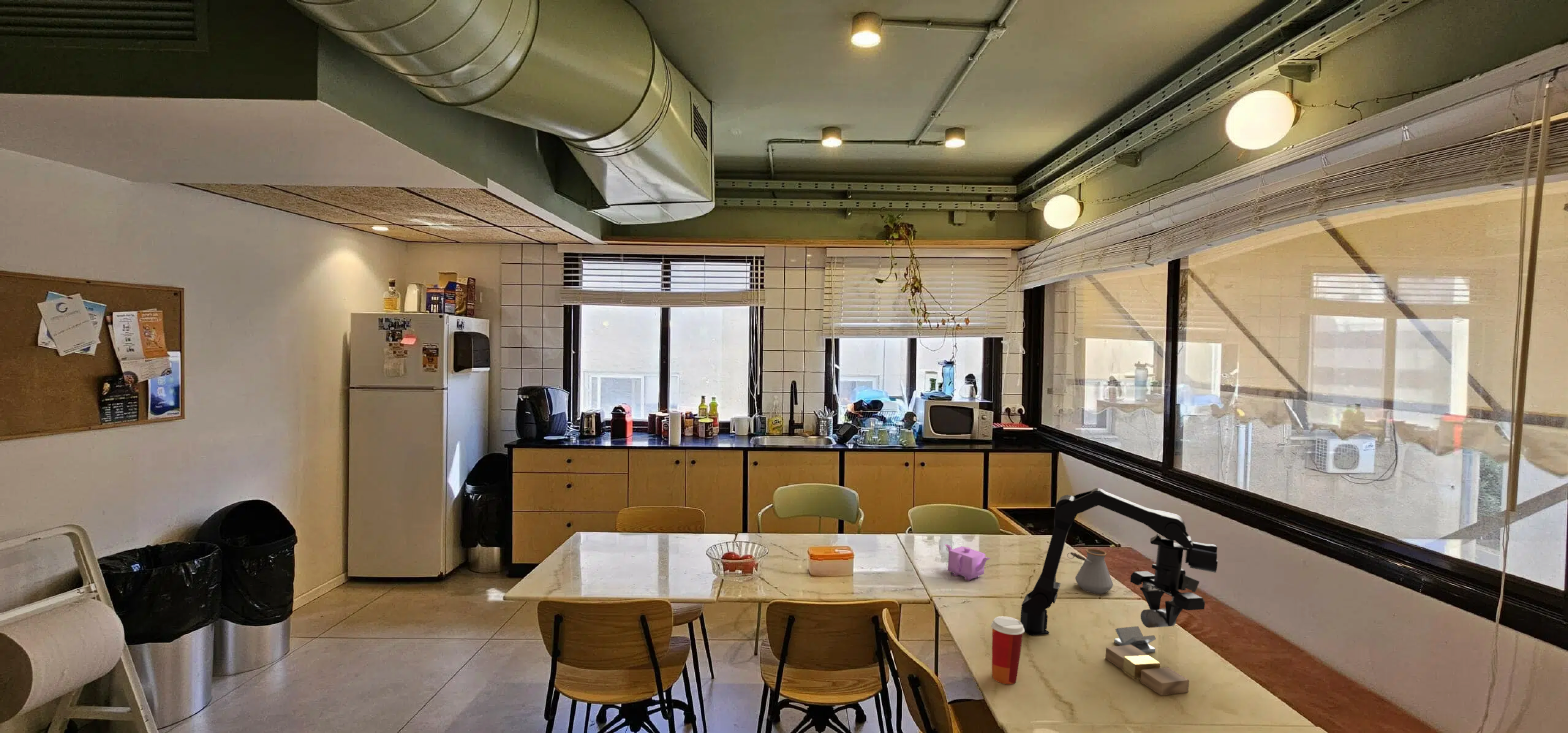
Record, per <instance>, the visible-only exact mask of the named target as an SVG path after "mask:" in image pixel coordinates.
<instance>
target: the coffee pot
mask: <svg viewBox="0 0 1568 733" xmlns="http://www.w3.org/2000/svg"><path fill="white" fill-rule="evenodd" d="M1085 553H1086V558H1085V557H1084V556H1082V555H1080V554H1077V553H1076V552H1068V553H1067V555H1066V556H1067V558H1069V559H1071V560H1072V559H1074V558H1076V559H1078V560H1081V561H1084V562H1083V563H1082V565H1081V567H1080V569H1079V570H1078V571H1077V573H1076V575H1075V578H1074V579H1075V582H1076V584H1077V585H1078V586H1079V587H1080V588H1081V590H1083V591H1084V592H1086V593H1090V594H1096V595H1104V594H1106V593H1107V592H1109V591H1110V590H1111V589H1112V588H1113V586H1114V582H1113V580H1112V577H1111V574H1110V571H1109V568H1108V566H1107V564H1106V560H1105V557H1106V556H1107V552H1105V550H1101V549H1097V548H1086V549H1085ZM1069 554H1070V555H1071V556H1072V557H1069Z"/></svg>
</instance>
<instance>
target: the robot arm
mask: <svg viewBox="0 0 1568 733" xmlns="http://www.w3.org/2000/svg"><path fill="white" fill-rule="evenodd" d="M1094 507H1102V508H1104V509H1107V510H1109V511H1112V512H1115V513H1116V514H1119V515H1122V516H1124V517H1126V518H1129V519H1131V520H1134V521H1137V522H1138V523H1142V524H1144V525H1145V526H1146V527H1148V528H1150V530H1152V531H1154V532H1155V533H1156V535H1155V536H1152V537H1151V538H1150V544H1151V545H1156V546H1157V550H1156V560H1155V561H1156V562H1155V563H1151V568H1152V569H1153V570H1154V573H1152V572H1149V571H1148V570H1146V571H1145V570H1144V571H1142V570H1141V571H1133V572H1132V573H1131V575H1130V580H1129V581H1130V583H1132V584H1134V585H1136V586H1140V587H1139V590H1140V591H1141V593H1142V594H1143V596H1144V598H1145V601H1146V602H1147V604H1148V607H1149V609H1161V608H1160V607H1161V601H1162V597H1163V596H1164V594H1166V595H1168V596H1170V597H1171V600H1165V601H1164V606H1165V608H1166V617H1167V624H1168V626H1169V627H1174V626H1173V624H1174V622H1175V620H1176V621H1177V618H1178V617H1179V615H1180V614H1181V612H1182V611H1183V610H1184V611H1197V610H1200V611H1201V610H1205V607H1206V600H1205V599H1204V598H1203V597H1202V596H1199V595H1197V594H1196V592H1197V589H1198V586H1199V584H1200V581H1199V580H1197V579H1195V578H1193V577H1192V576H1191V577H1190V576H1188V575H1186V573H1187V572H1186V570H1185V569H1183V568H1182V565H1183V564H1182V563H1183V557H1185V558H1184V563H1186V564H1187V566H1188V567H1189V569H1193V570H1200V571H1205V572H1209V573H1217V570H1218V563H1219V562H1218V546H1217V544H1212V543H1203V542H1196V541H1193V540H1192V538H1191V535H1189V534H1188V532H1187V529H1186V528H1187V527H1186V524H1185V523H1186V522H1185V521H1184V518H1183V517H1181V516H1180V515H1179V514H1176V513H1172V512H1168V511H1165V510H1159V509H1158V510H1157V509H1153V508H1148V507H1146V506H1143V505H1141V504H1138V503H1135V502H1133V501H1130V500H1128V499H1125V498H1122V497H1121V496H1118V495H1116V494H1113V493H1110V492H1107V491H1106V490H1104V489H1102V488H1099V487H1097V488H1094V489H1092V490H1089V491H1085V492H1081V493H1078V494H1074V495H1071V494H1064V495H1062V496H1060V497H1059V499H1058V501H1057V502H1056V504H1055V506H1054V517H1053V531H1052V533H1051V534H1052V535H1051V537H1050V538H1051V539H1050V542H1049V545H1048V548H1047V552H1046V556H1045V560H1044V564H1043V565H1042V566H1043V567H1042V570H1041V572H1040V575H1039V576H1038V578H1037V581H1036V582H1035V585H1034V586H1033V589H1032V590H1031V591H1030V592H1027V594H1026V595H1025V597H1024V599H1023V600H1022V602H1021V608H1020V620H1019V621H1020V622H1021V623H1022V625H1023V628H1024V630H1025V631H1024V633H1025V634H1026V635H1028V636H1030V637H1031V636H1042V635H1050V631H1048V630H1047V629H1048V617H1049V616H1048V614H1047V613H1048V610H1047V609H1050V607H1051V606H1052V604H1055V603H1056V600H1057V598H1058V592H1059V590H1060V586H1061V584H1062V583H1061V582H1057V581H1056V580H1057V578H1056V577H1057V572H1058V569H1059V566H1060V562H1061V557H1062V555H1063V551H1064V548H1065V544H1066V542H1067V541H1066V540H1067V538H1068V537H1067V536H1068V534H1069V531H1070V529H1071V528H1072V525H1073V523H1074V521H1075V519H1076V517H1077V515H1078V514H1081V513H1083V512H1086V511H1088V510H1090V509H1094ZM1161 536H1162V537H1161ZM1184 551H1185V556H1184ZM1141 585H1142V586H1141ZM1180 590H1181V591H1186V590H1189V591H1191V592H1189V591H1188V592H1180Z"/></svg>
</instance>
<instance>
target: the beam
mask: <svg viewBox="0 0 1568 733" xmlns="http://www.w3.org/2000/svg"><path fill="white" fill-rule="evenodd" d="M1144 655H1148V653H1144V652H1142V651H1141V650H1139V649H1138V648H1136V647H1134V646H1133V645H1124V646H1119V645H1116V646H1106V647H1105V656H1104V657H1105V660H1107V661H1109V662H1110V663H1111V664H1113V665H1115V666H1116V667H1117V668H1119V669H1120V670H1122V671H1123V665H1124V656H1144ZM1140 683H1142V684H1143V685H1144V686H1146V687H1147V688H1149V689H1150V690H1152V691H1154V693H1156V694H1158V695H1159V696H1167V695H1174V694H1175V695H1177V694H1183V693H1184V694H1185V693H1189V685H1190V684H1189V683H1190V680H1189V678H1188V677H1185V676H1184V675H1181V674H1180V673H1179V672H1177V671H1175V670H1173V669H1172V668H1170V667H1169V666H1166V667H1160V668H1154V669H1145V670H1141V679H1140Z"/></svg>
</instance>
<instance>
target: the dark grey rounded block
mask: <svg viewBox="0 0 1568 733" xmlns="http://www.w3.org/2000/svg"><path fill="white" fill-rule="evenodd" d="M1140 620H1141V623H1142V625H1143V626H1145V628H1148V629H1152V628H1167V627H1169V628H1170V626H1168V624H1167V617H1166V607H1165V608H1160V609H1150V608H1149V609H1143V610H1141V612H1140ZM1176 623H1177V619H1176V620H1175V622H1174V624H1173V626H1172V627H1174V626H1175V625H1176Z"/></svg>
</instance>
